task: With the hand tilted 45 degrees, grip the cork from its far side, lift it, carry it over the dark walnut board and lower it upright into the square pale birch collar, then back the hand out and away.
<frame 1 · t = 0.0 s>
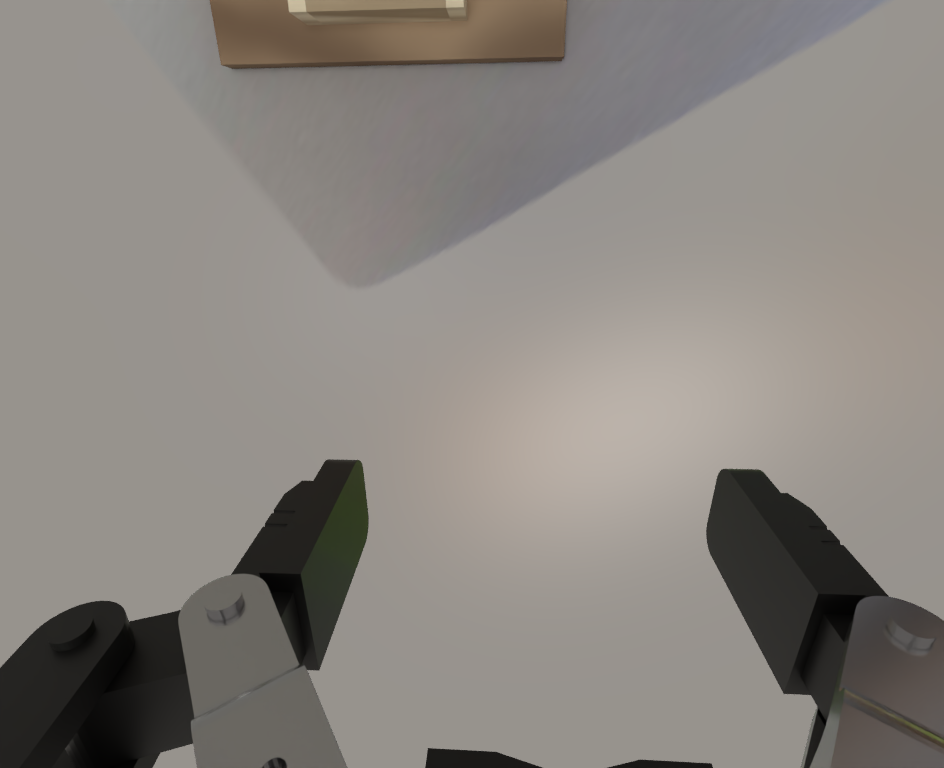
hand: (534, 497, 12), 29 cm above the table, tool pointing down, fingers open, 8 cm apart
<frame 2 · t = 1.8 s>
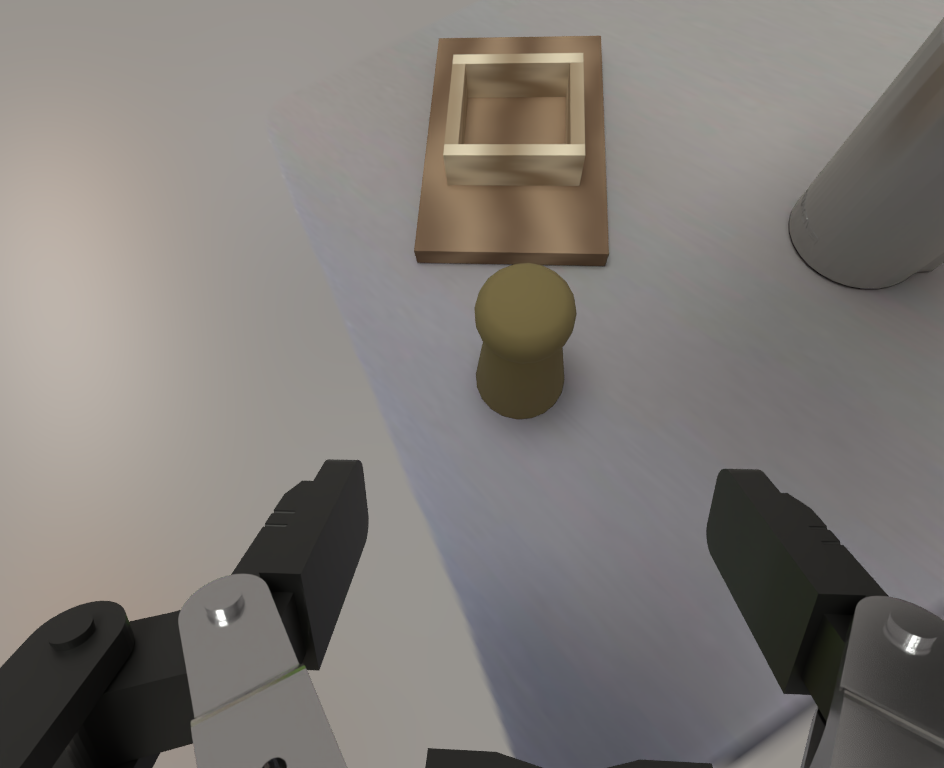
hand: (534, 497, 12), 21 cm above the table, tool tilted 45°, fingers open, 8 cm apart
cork: (519, 378, 35), on the table
collar board: (514, 149, 42), on the table
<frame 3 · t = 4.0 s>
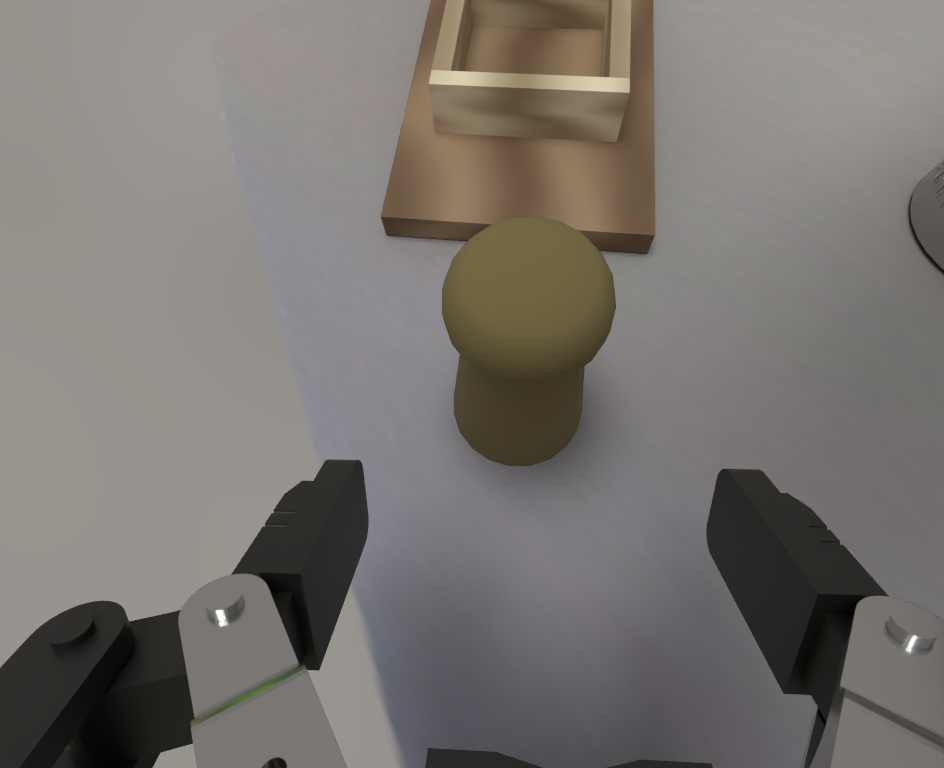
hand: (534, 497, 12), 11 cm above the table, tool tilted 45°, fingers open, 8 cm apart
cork: (516, 404, 24), on the table
collar board: (530, 96, 31), on the table
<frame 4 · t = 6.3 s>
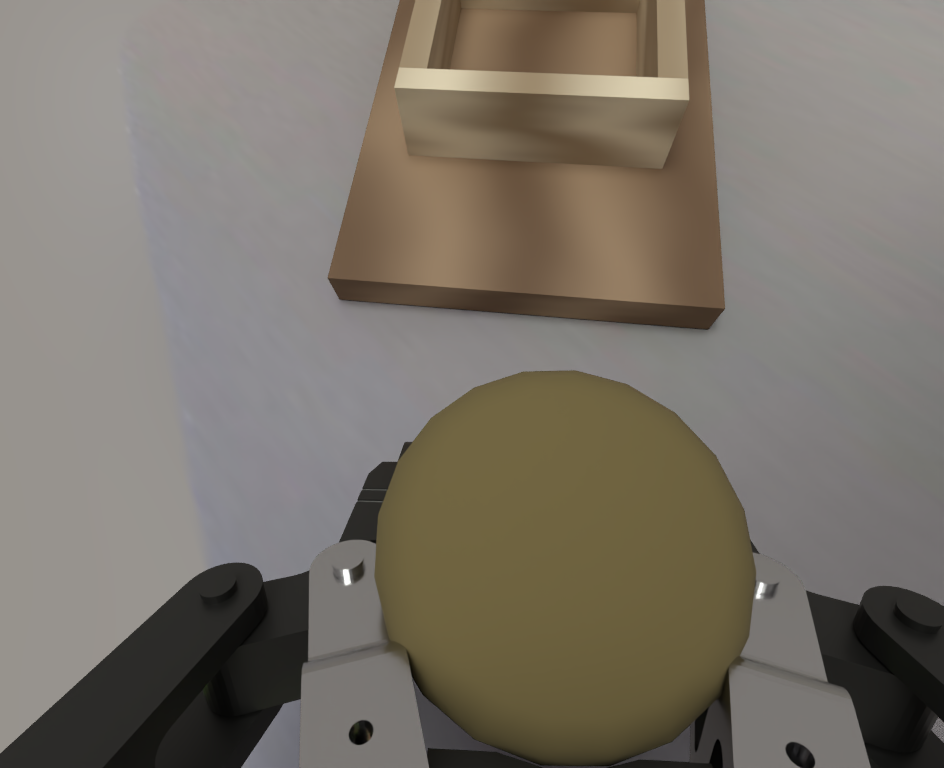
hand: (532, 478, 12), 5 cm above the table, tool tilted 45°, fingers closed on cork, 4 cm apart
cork: (524, 566, 16), on the table, touching gripper
collar board: (538, 103, 23), on the table
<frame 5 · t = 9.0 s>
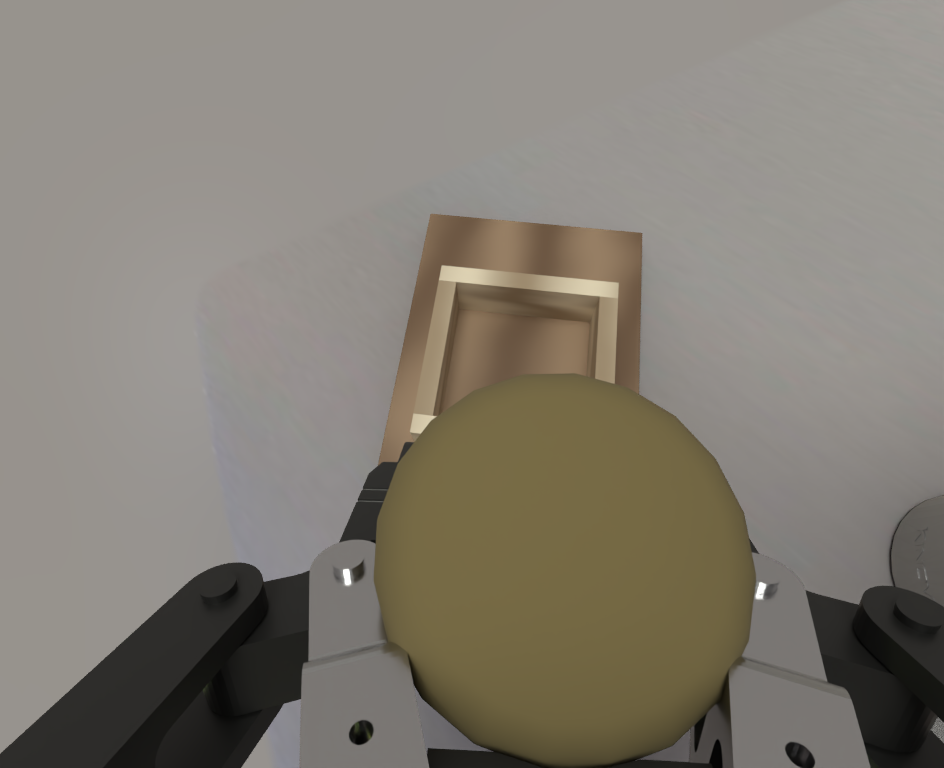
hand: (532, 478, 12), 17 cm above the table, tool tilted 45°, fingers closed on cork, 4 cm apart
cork: (521, 568, 16), point 12 cm above the table, touching gripper
collar board: (515, 384, 31), on the table
when the fingers open (8 cm above the table, at t = 11.9 s): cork drops 2 cm, resting on collar board.
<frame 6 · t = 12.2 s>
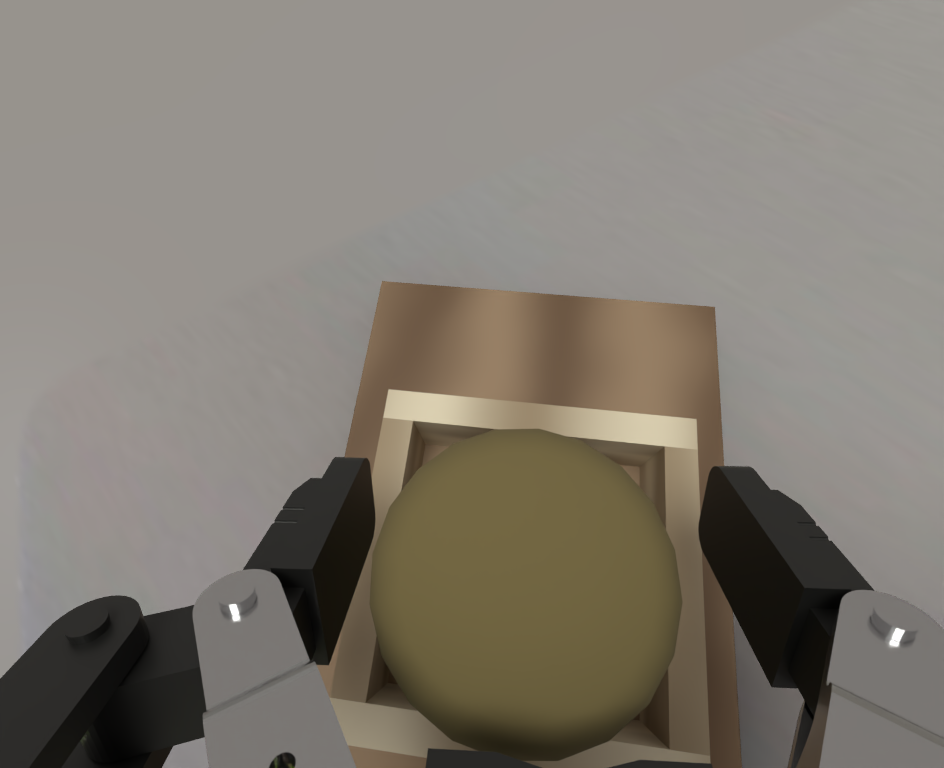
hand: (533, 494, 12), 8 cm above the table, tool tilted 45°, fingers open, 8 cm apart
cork: (508, 580, 18), point 1 cm above the table, touching collar board
collar board: (519, 569, 19), on the table
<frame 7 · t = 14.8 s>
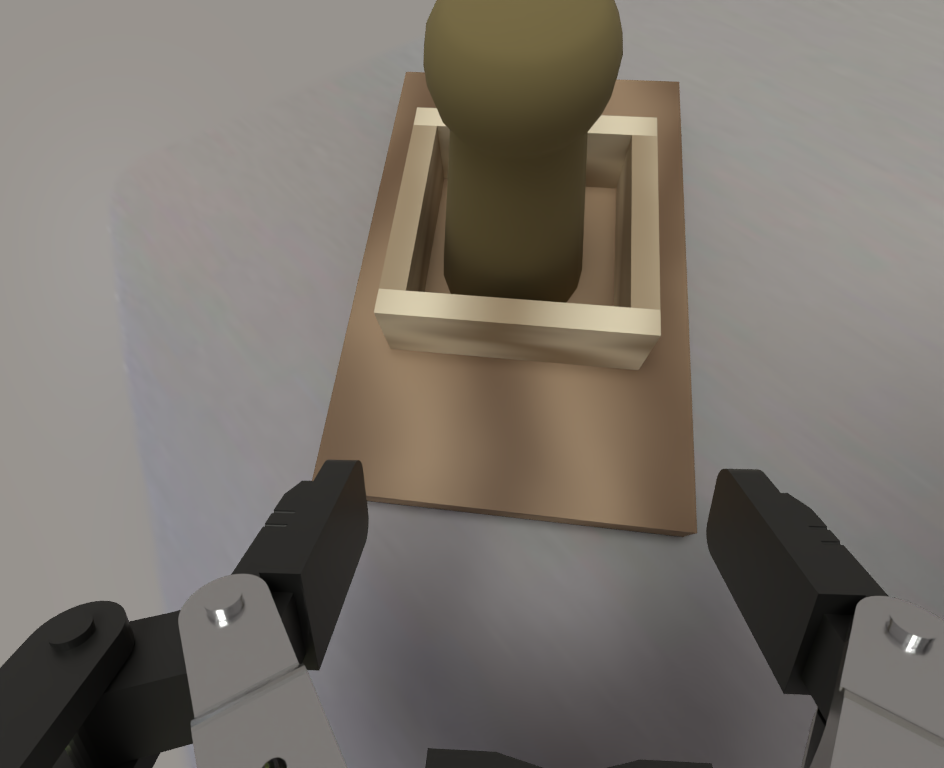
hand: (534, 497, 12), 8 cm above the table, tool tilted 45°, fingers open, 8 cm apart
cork: (511, 265, 22), point 1 cm above the table, touching collar board
collar board: (520, 274, 24), on the table
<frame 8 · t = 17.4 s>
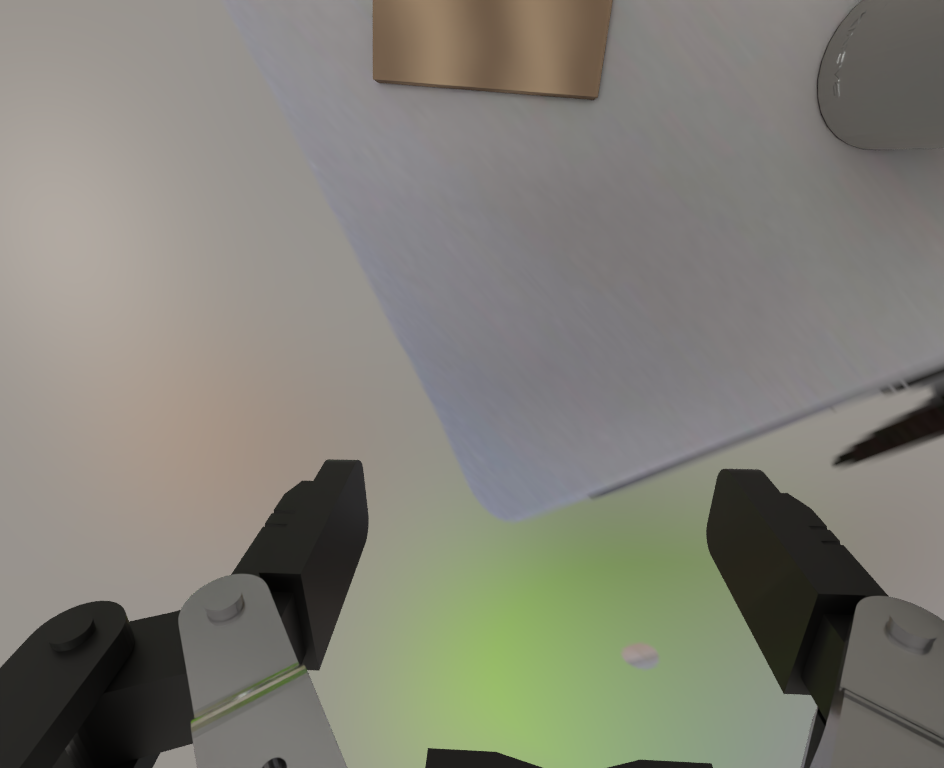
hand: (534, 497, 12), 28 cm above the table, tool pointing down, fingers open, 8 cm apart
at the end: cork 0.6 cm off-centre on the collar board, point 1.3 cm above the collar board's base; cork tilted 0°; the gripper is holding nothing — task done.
